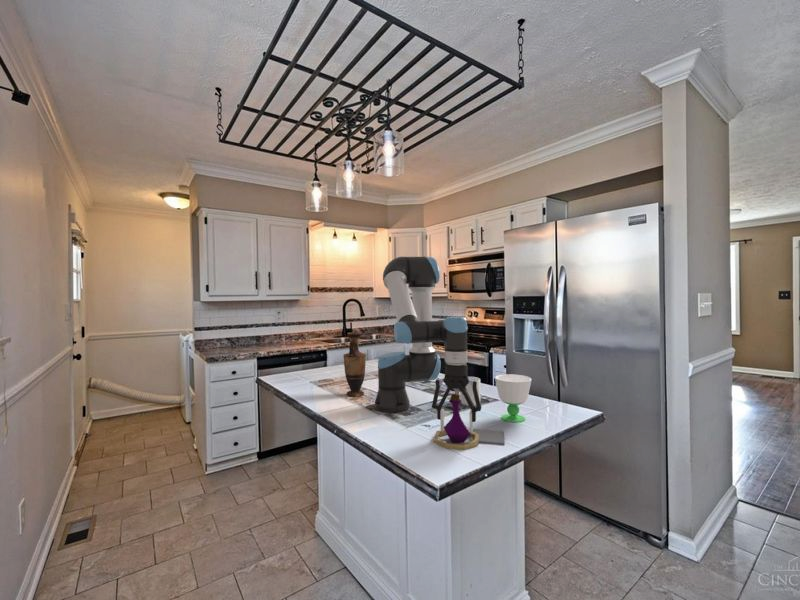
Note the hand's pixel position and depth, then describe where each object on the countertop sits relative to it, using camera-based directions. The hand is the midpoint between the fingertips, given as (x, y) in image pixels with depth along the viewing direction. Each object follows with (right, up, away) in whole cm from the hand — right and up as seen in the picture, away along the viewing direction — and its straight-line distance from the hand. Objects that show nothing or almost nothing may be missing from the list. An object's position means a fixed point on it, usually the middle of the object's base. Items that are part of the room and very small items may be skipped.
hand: (456, 430), depth 132 cm
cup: (+25, -3, +22) cm, 33 cm away
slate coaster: (+11, -3, +2) cm, 12 cm away
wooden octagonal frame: (0, -3, 0) cm, 3 cm away
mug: (+11, -2, +43) cm, 44 cm away
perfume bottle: (0, -4, 0) cm, 4 cm away
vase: (-41, -3, +59) cm, 72 cm away
